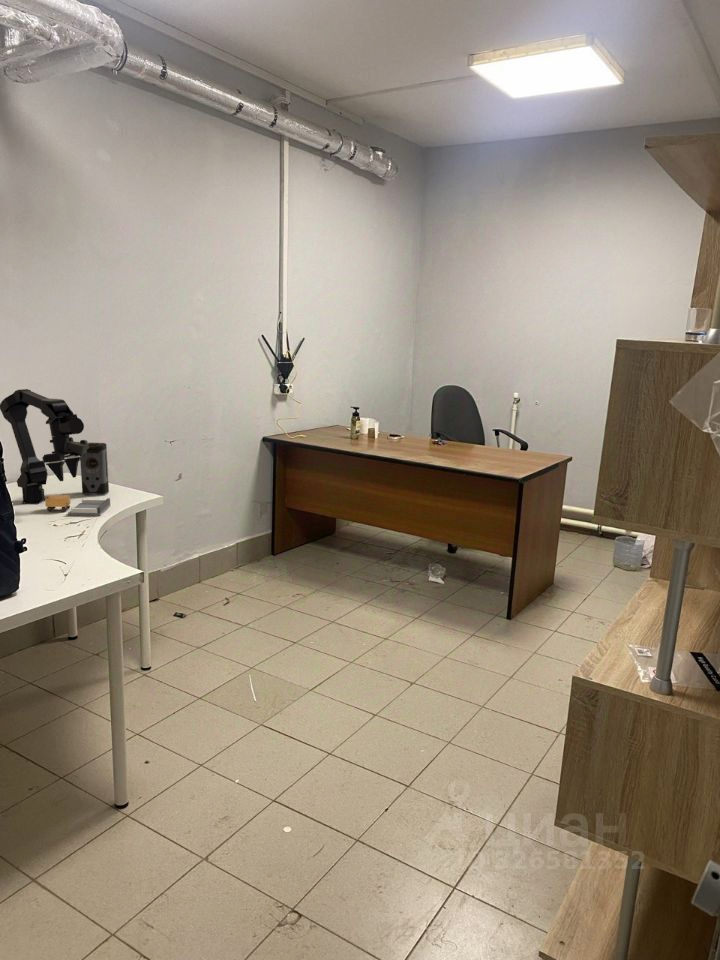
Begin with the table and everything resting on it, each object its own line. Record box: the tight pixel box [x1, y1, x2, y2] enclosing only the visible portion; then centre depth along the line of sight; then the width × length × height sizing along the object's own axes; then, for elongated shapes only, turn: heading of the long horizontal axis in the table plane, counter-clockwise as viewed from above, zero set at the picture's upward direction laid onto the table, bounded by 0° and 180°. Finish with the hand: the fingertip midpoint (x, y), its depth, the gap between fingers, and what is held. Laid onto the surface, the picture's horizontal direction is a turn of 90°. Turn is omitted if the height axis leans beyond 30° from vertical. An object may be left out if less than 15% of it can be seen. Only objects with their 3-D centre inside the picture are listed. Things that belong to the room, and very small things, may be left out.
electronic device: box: [79, 442, 110, 496], centre depth 269 cm, size 9×6×20 cm, turn 92°
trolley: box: [44, 494, 72, 513], centre depth 247 cm, size 7×5×5 cm
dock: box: [67, 498, 111, 517], centre depth 248 cm, size 11×13×3 cm
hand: (68, 479), depth 243 cm, fingers open, 9 cm apart
